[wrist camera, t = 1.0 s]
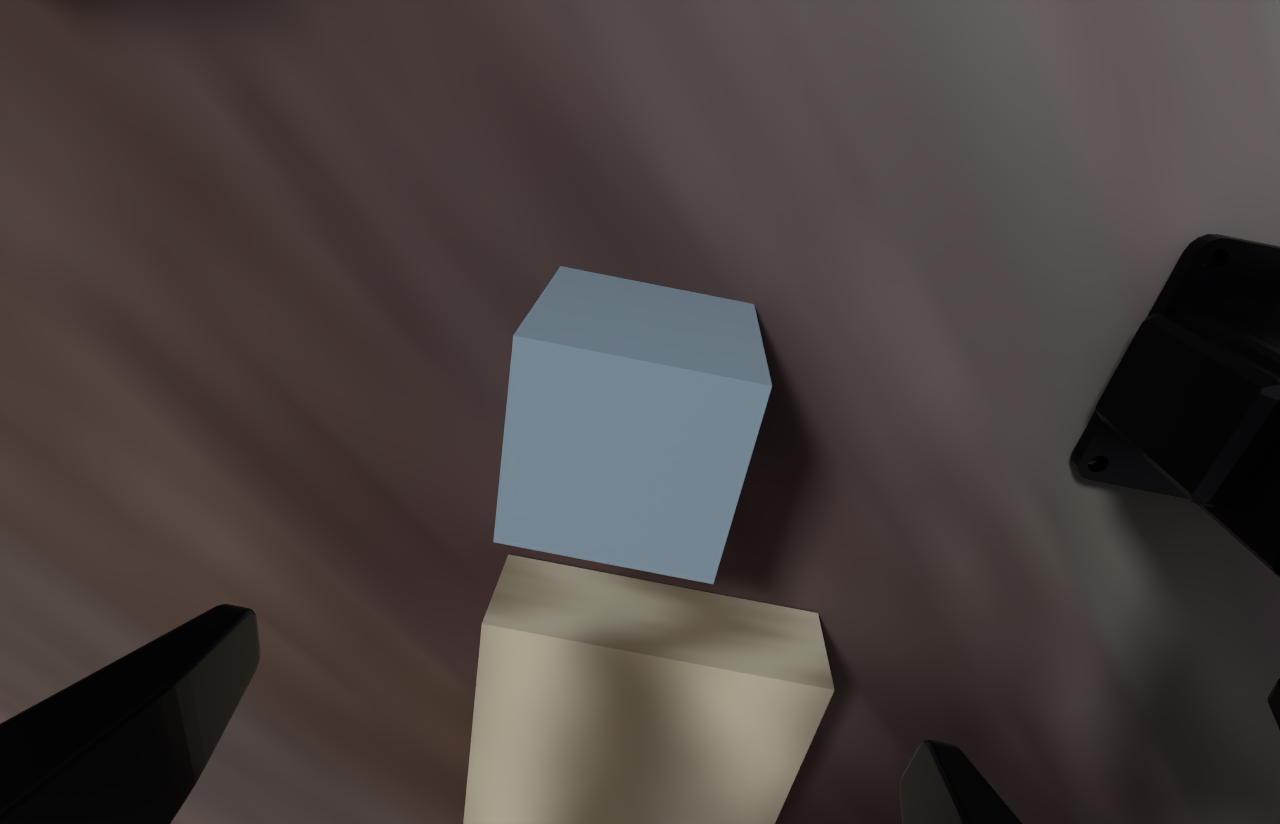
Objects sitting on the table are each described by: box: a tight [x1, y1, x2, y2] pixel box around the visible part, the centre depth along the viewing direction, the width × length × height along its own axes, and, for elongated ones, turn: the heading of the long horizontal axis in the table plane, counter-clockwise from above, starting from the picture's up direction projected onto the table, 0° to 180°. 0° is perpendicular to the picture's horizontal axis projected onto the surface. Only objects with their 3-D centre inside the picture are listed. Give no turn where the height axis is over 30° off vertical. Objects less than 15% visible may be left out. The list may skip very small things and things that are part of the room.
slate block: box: [493, 266, 772, 584], centre depth 16 cm, size 5×5×5 cm
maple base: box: [463, 555, 834, 824], centre depth 23 cm, size 10×10×3 cm
